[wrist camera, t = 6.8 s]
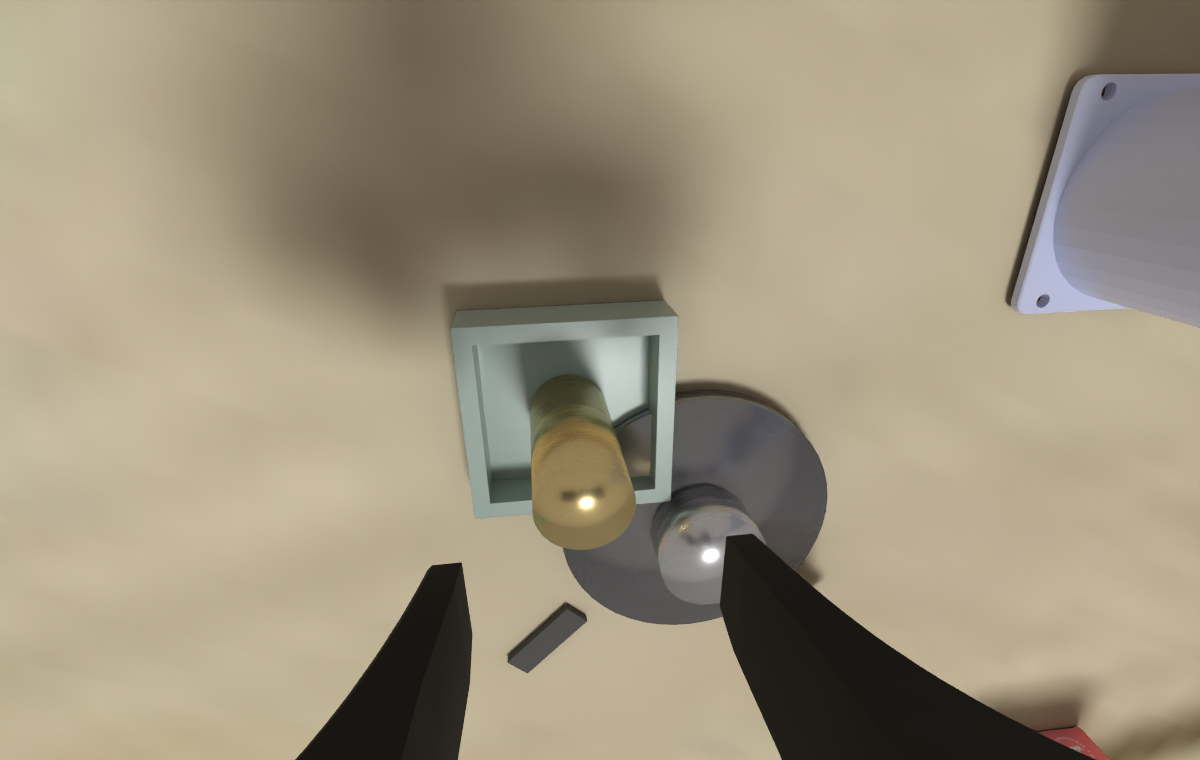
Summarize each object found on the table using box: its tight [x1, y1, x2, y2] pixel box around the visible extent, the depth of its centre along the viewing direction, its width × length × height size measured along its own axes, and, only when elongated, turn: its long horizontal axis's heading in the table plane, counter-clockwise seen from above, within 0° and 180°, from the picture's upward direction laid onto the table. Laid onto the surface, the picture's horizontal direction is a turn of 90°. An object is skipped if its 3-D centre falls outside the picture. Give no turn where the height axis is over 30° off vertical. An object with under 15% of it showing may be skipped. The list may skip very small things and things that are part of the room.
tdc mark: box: [508, 604, 587, 673], centre depth 25 cm, size 4×1×1 cm, turn 136°
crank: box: [650, 486, 767, 604], centre depth 21 cm, size 10×4×4 cm, turn 46°
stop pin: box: [530, 374, 636, 550], centre depth 18 cm, size 3×3×6 cm
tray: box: [450, 300, 678, 519], centre depth 20 cm, size 7×7×2 cm
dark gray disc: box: [563, 390, 827, 625], centre depth 23 cm, size 11×11×1 cm
